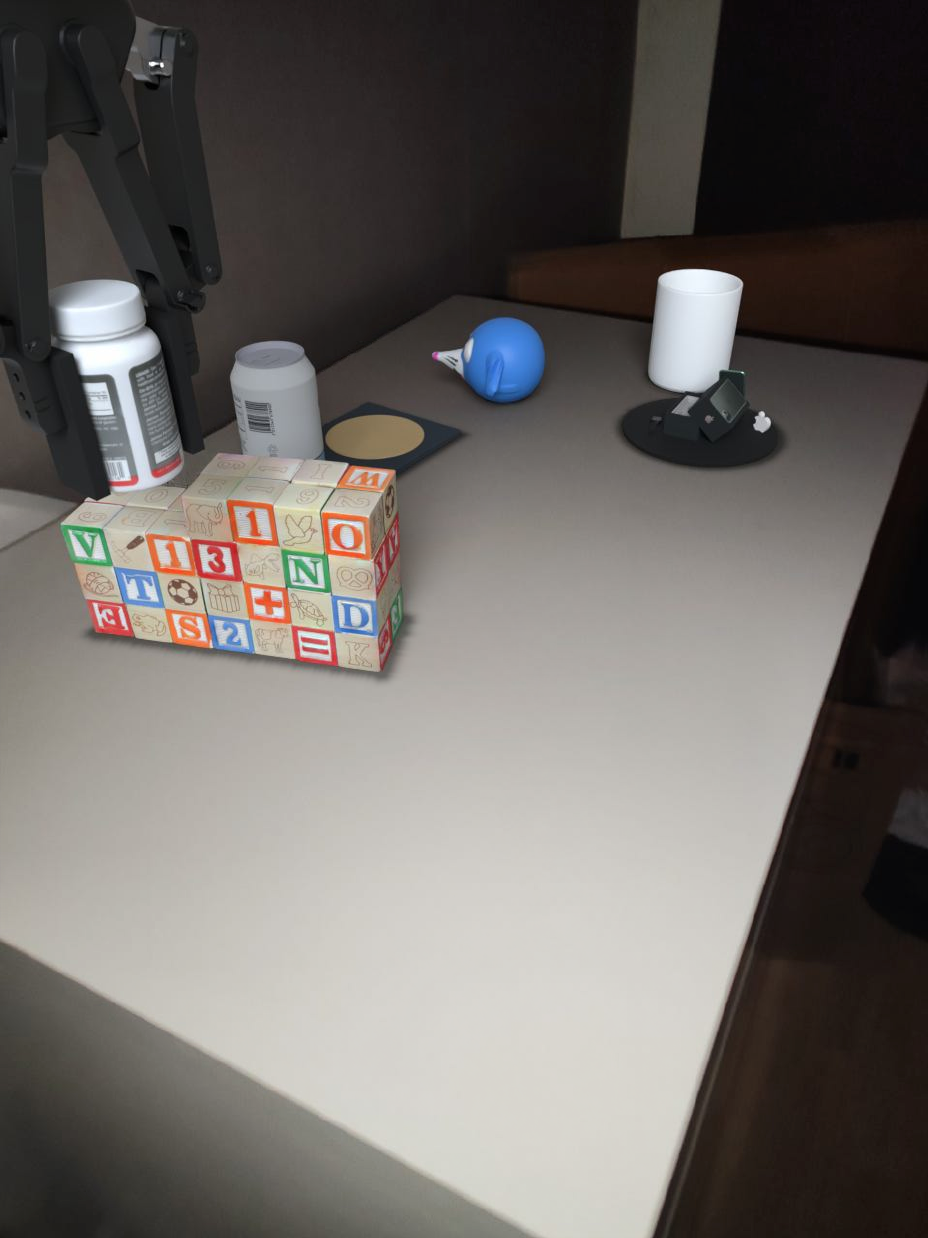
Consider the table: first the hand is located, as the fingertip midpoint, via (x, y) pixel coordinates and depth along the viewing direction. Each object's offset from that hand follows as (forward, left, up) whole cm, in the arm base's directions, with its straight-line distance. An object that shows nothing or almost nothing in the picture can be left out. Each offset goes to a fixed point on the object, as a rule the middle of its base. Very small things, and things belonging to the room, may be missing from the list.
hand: (134, 464), depth 43 cm
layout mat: (-20, +33, -20) cm, 43 cm away
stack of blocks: (-8, +11, -20) cm, 24 cm away
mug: (-2, +72, -20) cm, 75 cm away
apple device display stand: (+5, +59, -20) cm, 62 cm away
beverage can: (-20, +27, -19) cm, 38 cm away
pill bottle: (0, 0, -1) cm, 1 cm away
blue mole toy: (-17, +54, -20) cm, 60 cm away
